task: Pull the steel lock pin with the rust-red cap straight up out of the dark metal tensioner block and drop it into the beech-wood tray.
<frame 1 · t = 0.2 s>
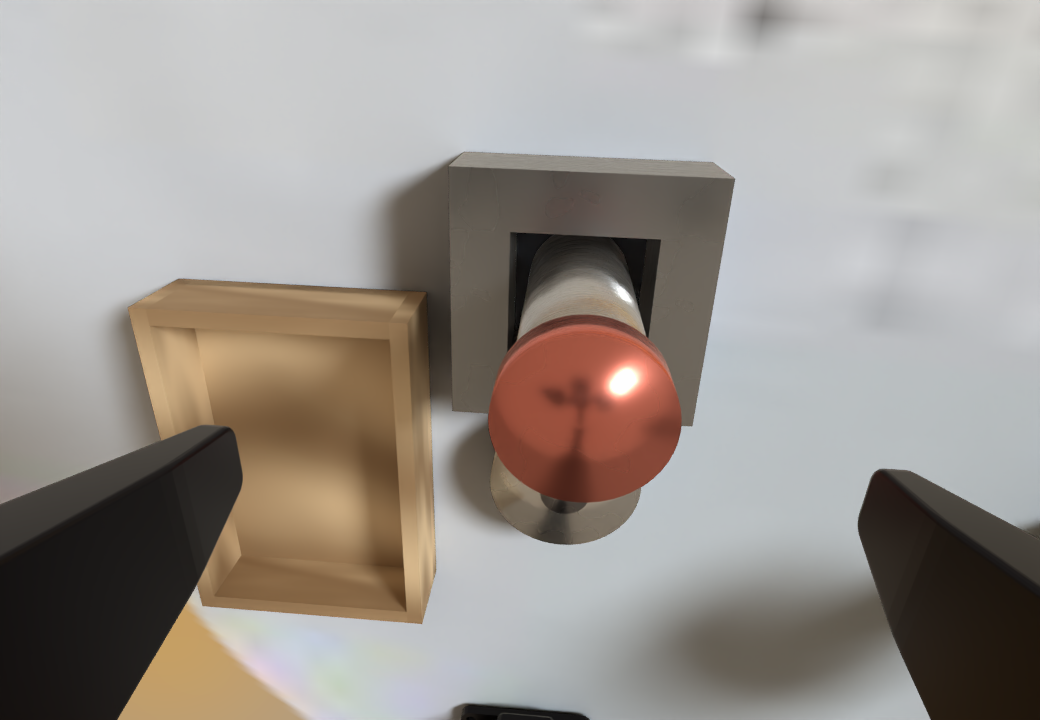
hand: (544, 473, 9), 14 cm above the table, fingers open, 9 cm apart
tray: (320, 439, 26), on the table
lock pin: (580, 331, 18), in the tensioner
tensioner: (578, 276, 22), on the table
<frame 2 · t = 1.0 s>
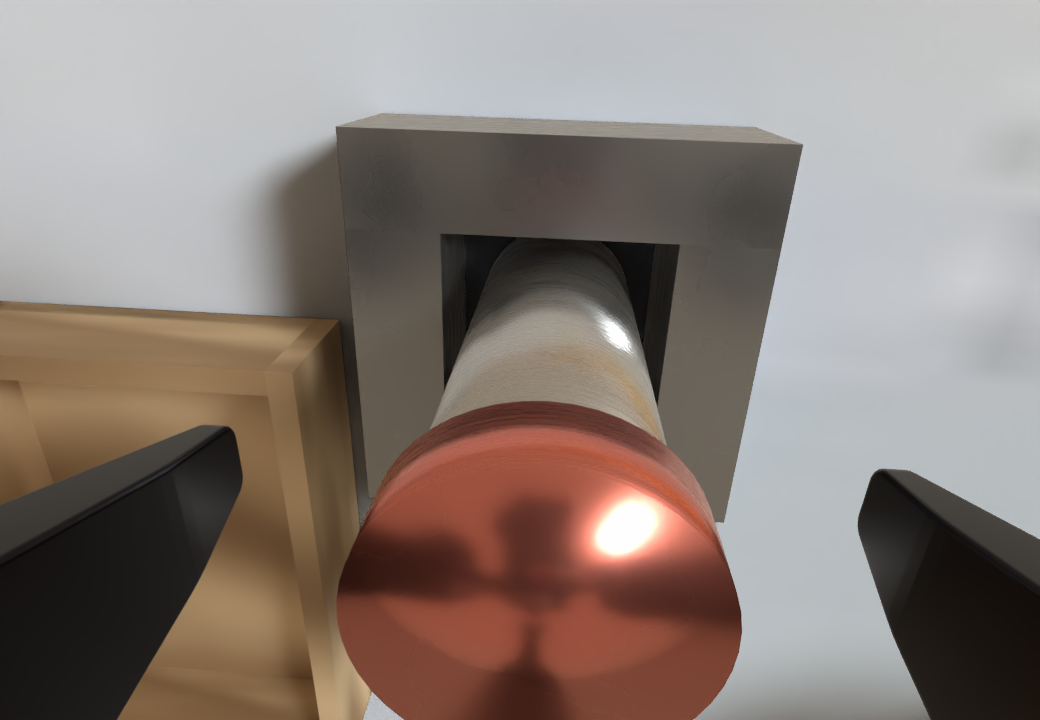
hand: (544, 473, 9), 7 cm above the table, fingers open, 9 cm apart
tray: (208, 516, 19), on the table
lock pin: (549, 395, 11), in the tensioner
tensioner: (556, 297, 15), on the table
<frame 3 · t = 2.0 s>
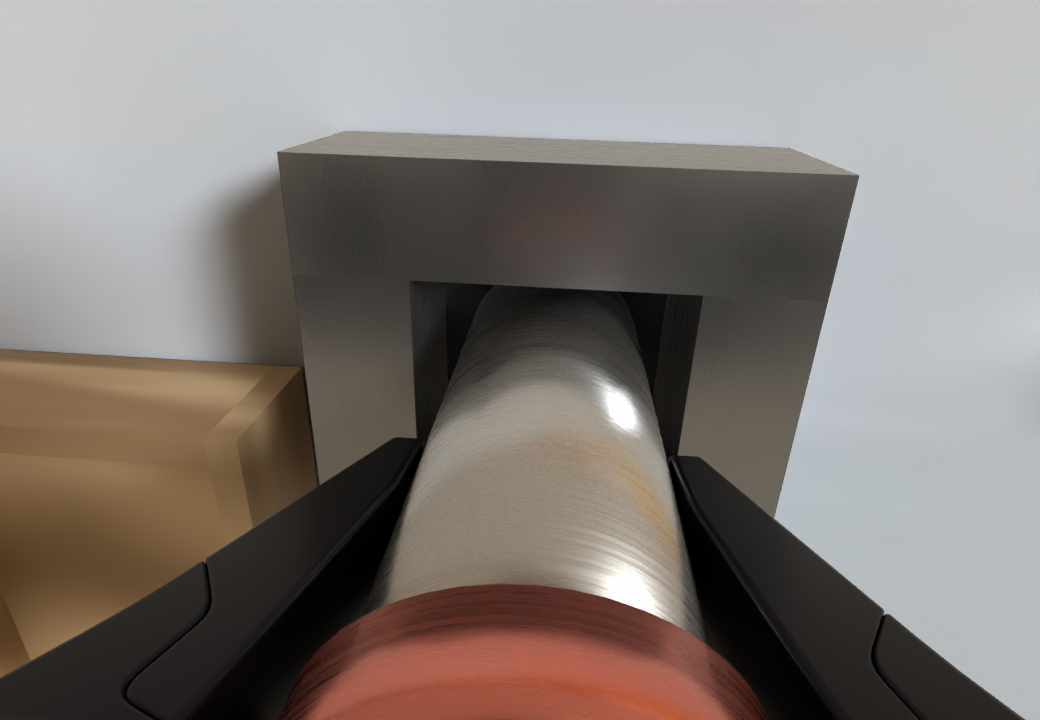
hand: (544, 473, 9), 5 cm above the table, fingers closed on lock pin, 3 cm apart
tray: (161, 580, 17), on the table
lock pin: (543, 488, 9), in the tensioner, touching gripper
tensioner: (552, 342, 13), on the table
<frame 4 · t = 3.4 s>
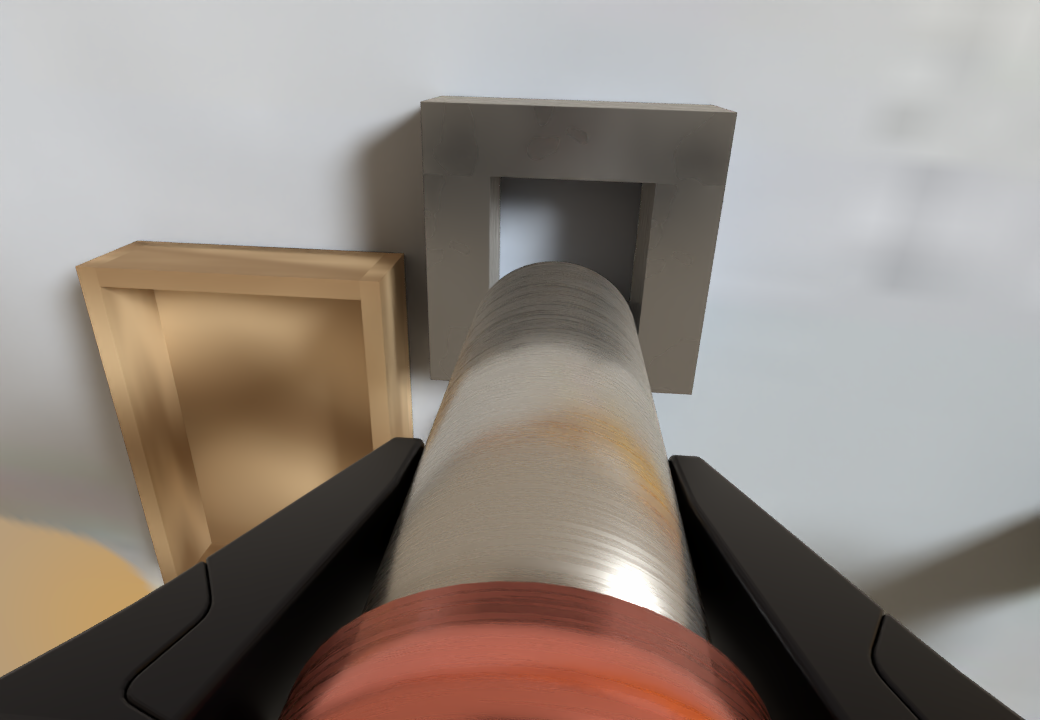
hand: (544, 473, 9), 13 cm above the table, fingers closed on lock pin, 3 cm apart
tray: (293, 416, 24), on the table
lock pin: (543, 486, 9), point 13 cm above the table, touching gripper
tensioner: (567, 234, 21), on the table
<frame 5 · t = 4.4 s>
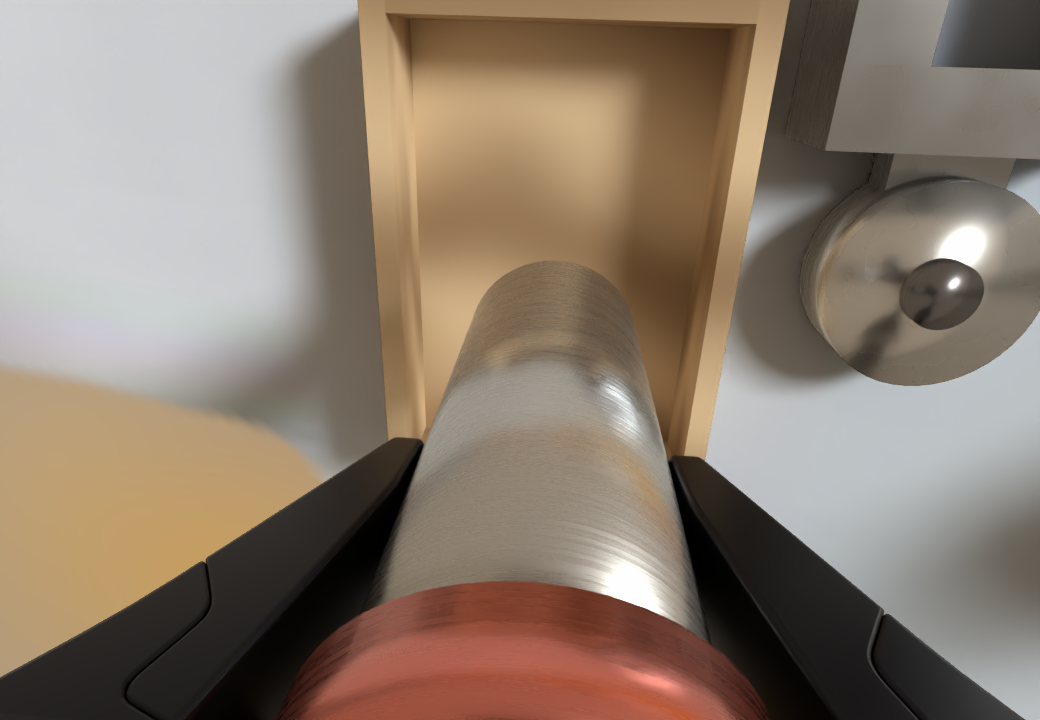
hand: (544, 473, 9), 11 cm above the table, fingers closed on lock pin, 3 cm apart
tray: (555, 251, 19), on the table
lock pin: (542, 486, 9), point 12 cm above the table, touching gripper
when the fingers open (7 cm above the table, at t = 5.2 s): lock pin drops 2 cm, resting on tray.
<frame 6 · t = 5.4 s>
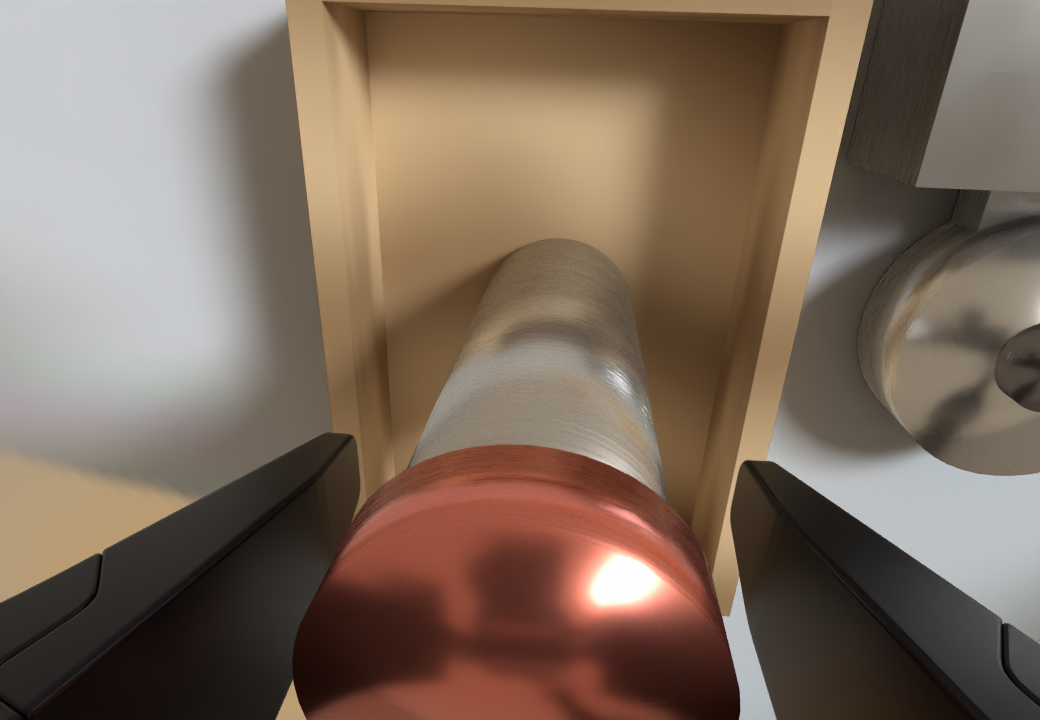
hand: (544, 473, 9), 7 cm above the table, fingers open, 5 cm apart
tray: (554, 302, 15), on the table
lock pin: (543, 421, 10), in the tray, point 6 cm above the table
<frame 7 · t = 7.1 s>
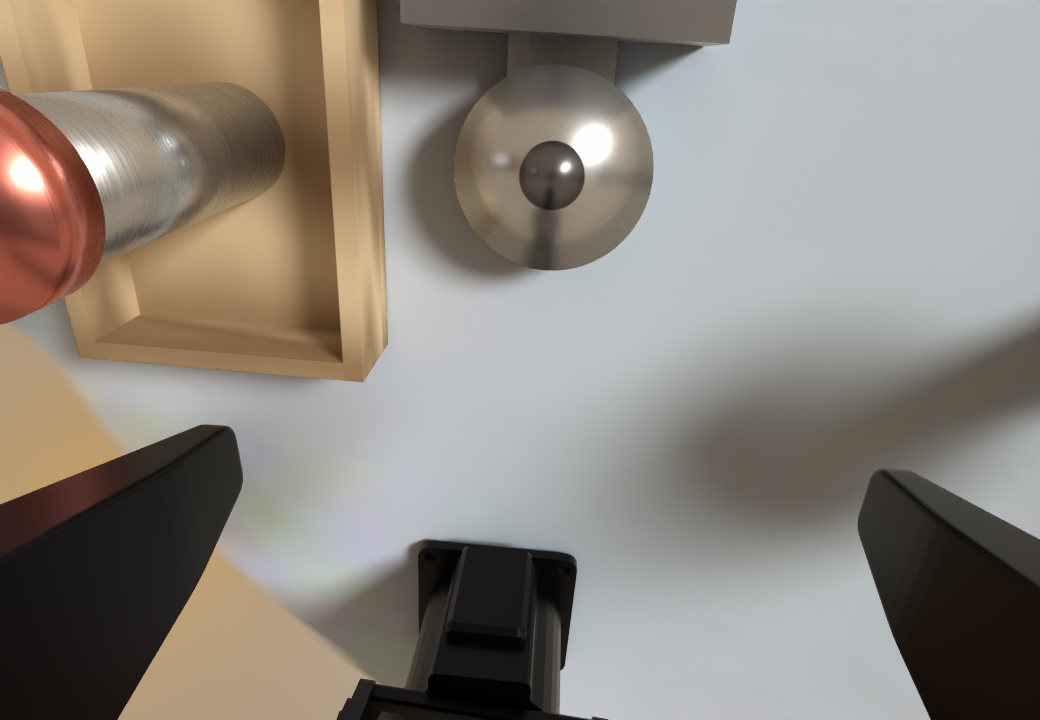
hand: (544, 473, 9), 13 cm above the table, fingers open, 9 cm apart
tray: (237, 140, 20), on the table
lock pin: (128, 167, 15), in the tray, point 6 cm above the table
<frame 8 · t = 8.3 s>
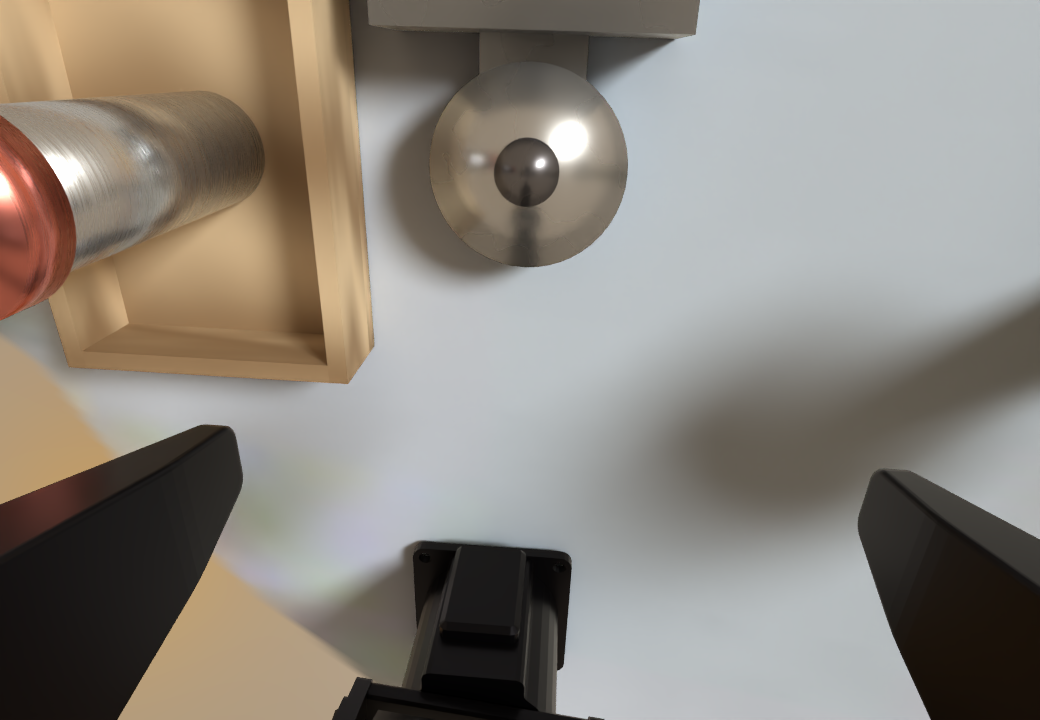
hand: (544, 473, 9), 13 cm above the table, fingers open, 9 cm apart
tray: (218, 148, 20), on the table
lock pin: (104, 175, 15), in the tray, point 6 cm above the table
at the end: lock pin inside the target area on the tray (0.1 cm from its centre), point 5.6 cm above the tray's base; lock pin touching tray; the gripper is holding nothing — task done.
